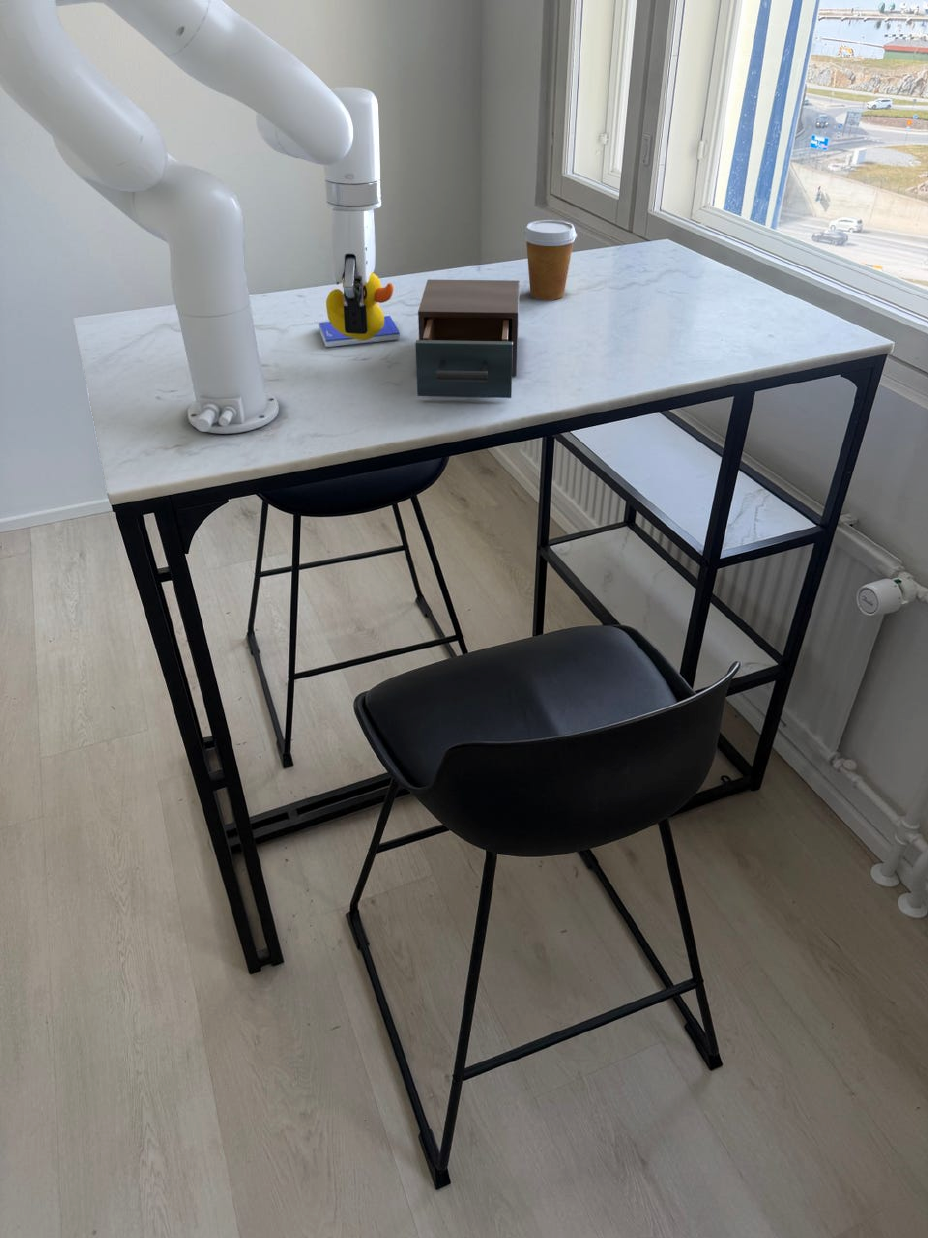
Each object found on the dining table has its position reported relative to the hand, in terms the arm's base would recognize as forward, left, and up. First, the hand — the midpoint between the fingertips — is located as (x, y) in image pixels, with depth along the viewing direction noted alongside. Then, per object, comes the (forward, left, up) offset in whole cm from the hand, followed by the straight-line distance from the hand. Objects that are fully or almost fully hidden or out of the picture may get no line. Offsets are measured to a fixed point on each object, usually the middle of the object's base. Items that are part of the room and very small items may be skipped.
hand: (360, 323), depth 129 cm
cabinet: (+7, -16, -8) cm, 19 cm away
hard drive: (+16, +3, -8) cm, 18 cm away
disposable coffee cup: (+38, -29, -8) cm, 48 cm away
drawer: (-6, -16, -7) cm, 18 cm away
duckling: (0, 0, -2) cm, 2 cm away
